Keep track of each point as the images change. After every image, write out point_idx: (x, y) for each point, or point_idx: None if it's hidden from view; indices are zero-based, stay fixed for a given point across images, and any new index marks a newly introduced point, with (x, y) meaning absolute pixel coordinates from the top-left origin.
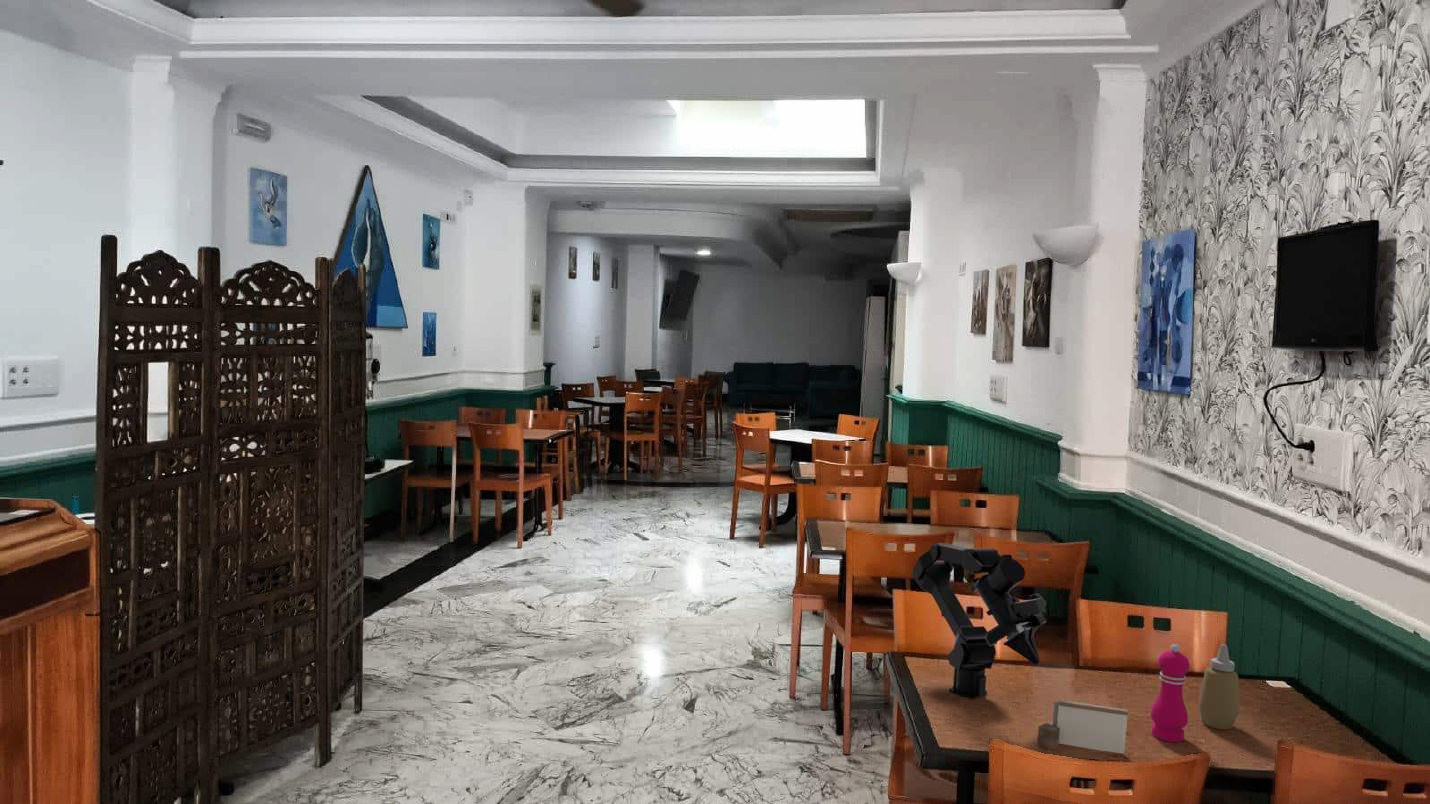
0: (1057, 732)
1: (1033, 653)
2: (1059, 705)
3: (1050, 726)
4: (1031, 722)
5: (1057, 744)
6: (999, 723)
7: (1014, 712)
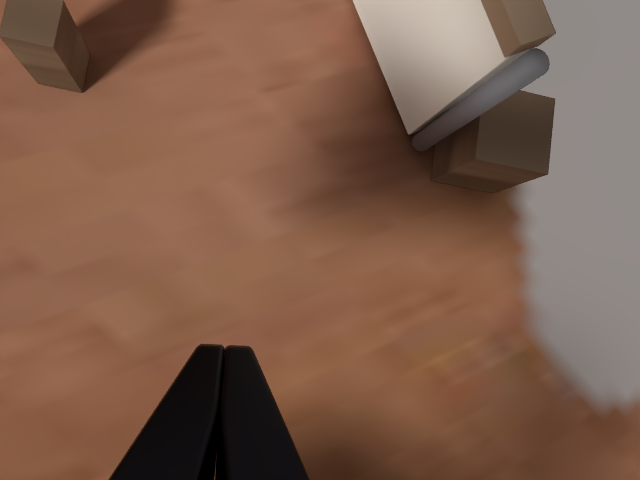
0: None
1: (295, 457)
2: (539, 43)
3: (503, 125)
4: (243, 320)
5: None
6: (381, 436)
7: None
